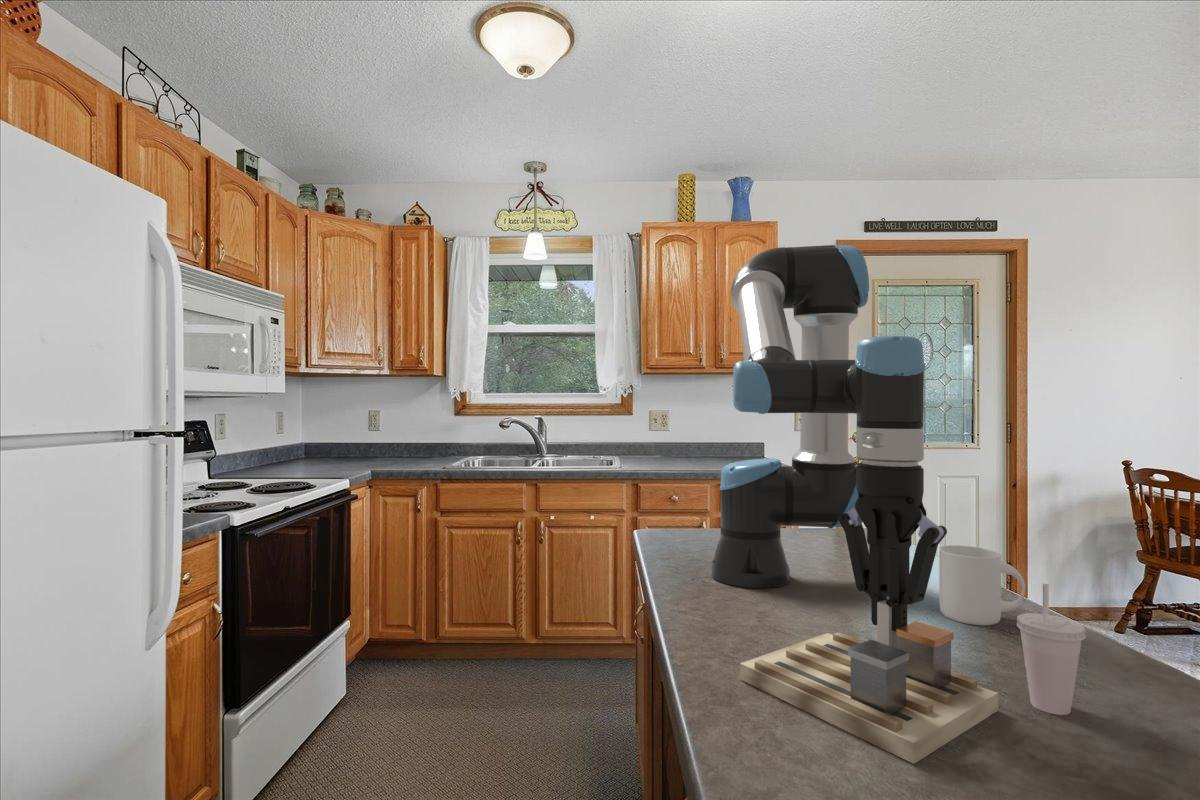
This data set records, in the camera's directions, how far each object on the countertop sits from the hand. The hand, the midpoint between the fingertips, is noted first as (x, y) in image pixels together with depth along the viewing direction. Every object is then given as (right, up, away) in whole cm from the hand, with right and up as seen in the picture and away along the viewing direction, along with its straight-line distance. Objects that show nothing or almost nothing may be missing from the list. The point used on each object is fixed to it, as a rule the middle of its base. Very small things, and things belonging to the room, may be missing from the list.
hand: (889, 654), depth 76 cm
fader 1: (-5, -2, -9) cm, 11 cm away
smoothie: (+16, -4, -5) cm, 17 cm away
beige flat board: (-4, -4, -2) cm, 6 cm away
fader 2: (+3, -2, -3) cm, 5 cm away
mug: (+26, -4, +24) cm, 36 cm away
